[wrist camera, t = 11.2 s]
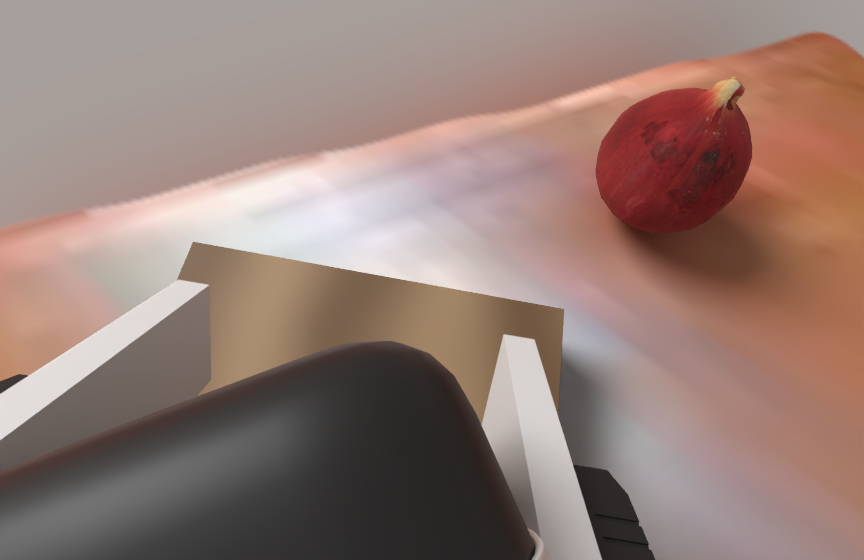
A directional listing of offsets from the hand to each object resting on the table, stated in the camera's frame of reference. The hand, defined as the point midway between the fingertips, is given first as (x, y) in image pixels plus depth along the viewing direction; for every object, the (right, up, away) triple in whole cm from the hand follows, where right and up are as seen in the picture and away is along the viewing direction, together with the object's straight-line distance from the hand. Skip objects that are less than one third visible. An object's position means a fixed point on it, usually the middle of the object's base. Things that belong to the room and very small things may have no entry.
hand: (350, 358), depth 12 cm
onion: (+12, +5, +12) cm, 18 cm away
